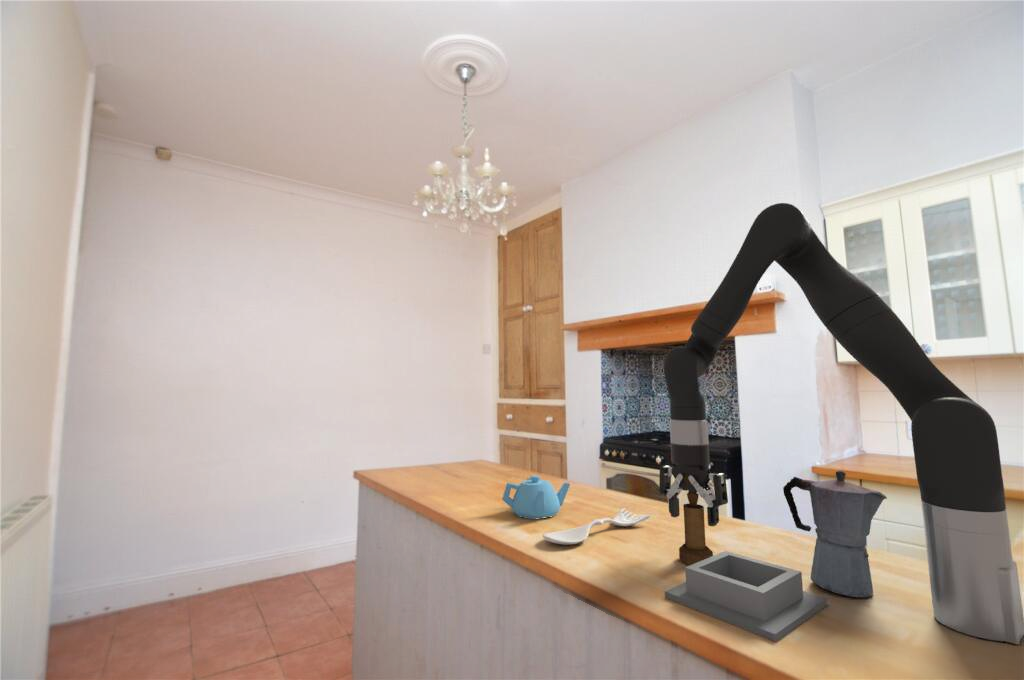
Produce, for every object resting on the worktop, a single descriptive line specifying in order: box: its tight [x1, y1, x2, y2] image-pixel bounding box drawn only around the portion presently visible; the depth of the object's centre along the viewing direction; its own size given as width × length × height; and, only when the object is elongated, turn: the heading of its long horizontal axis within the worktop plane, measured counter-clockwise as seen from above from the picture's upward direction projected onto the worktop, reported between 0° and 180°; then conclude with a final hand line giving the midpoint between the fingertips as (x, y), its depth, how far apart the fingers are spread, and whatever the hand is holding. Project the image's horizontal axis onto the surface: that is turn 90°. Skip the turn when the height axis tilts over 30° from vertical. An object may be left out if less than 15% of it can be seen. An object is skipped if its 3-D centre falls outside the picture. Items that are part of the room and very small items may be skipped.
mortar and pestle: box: [678, 474, 714, 566], centre depth 96 cm, size 7×6×18 cm
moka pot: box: [782, 470, 888, 599], centre depth 83 cm, size 10×15×20 cm, turn 57°
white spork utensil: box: [542, 507, 651, 546], centre depth 115 cm, size 9×32×4 cm, turn 127°
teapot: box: [502, 475, 571, 518], centre depth 135 cm, size 15×15×11 cm
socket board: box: [664, 550, 828, 642], centre depth 78 cm, size 18×18×5 cm
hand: (693, 520), depth 96 cm, fingers open, 8 cm apart
